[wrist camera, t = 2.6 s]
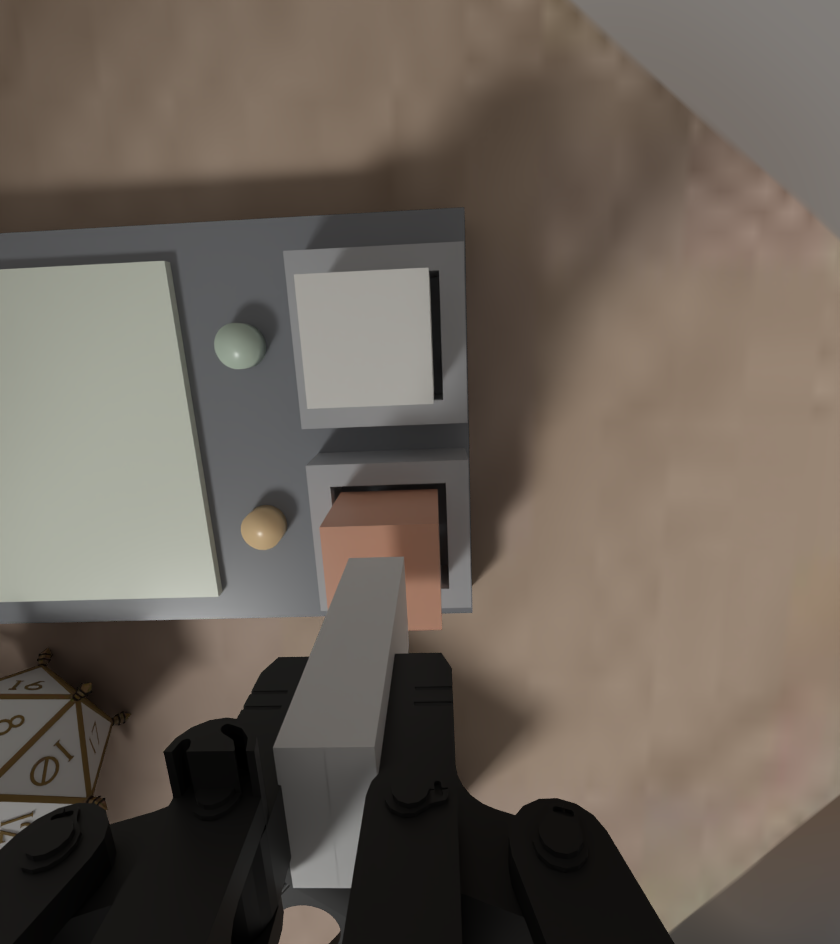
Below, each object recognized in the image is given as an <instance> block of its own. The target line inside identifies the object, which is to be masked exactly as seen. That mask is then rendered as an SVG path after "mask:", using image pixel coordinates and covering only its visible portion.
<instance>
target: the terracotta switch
mask: <svg viewBox="0 0 840 944" xmlns="http://www.w3.org/2000/svg"><path fill="white" fill-rule="evenodd" d="M319 529H320V539H321V549H322V559H323V568H324V578H325V588H326V598H327V608H328V609H329V607H330V604H331V602H332V599H333V597H334V594H335V592H336V589H337V587H338V584H339V582H340V579H341V577H342V574H343V572H344V569H345V567H346V564H347V562H348V559H349V558H370V557H404V566H405V584H406V601H407V619H408V631H410V630H442V605H441V565H440V538H439V511H438V489H419V490H389V491H359V492H341V493H340V494H339V496H338V498H337V499H336V501H335V502H334V504H333V506H332V507H331V509H330V511H329V512H328V514H327V516H326V517H325V519H324V520H323V522H322V524H321V525H320V527H319Z"/></svg>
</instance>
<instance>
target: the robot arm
mask: <svg viewBox="0 0 840 944" xmlns="http://www.w3.org/2000/svg"><path fill="white" fill-rule="evenodd" d="M408 650H409V636H408V619H407V601H406V584H405V566H404V557H370V558H349V559H348V562H347V564H346V567H345V569H344V572H343V574H342V577H341V579H340V582H339V584H338V587H337V589H336V592H335V594H334V597H333V599H332V602H331V604H330V607H329V609H328V612H327V614H326V617H325V619H324V622H323V624H322V627H321V629H320V632H319V634H318V637H317V639H316V642H315V644H314V646H313V649H312V651H311V654H310V656H309V657H278V658H277V659H276V660H275V661H274V662H273V663H272V664H270V665H269V666H268V667H267V668H266V669H265V670H264V671H263V672H261V674H260V676H259V678H258V680H257V682H256V684H255V685H254V687H253V689H252V694H250V695H249V697H248V699H247V701H246V703H245V704H244V709H243V710H241V712H240V714H239V716H238V718H237V719H233V718H222V719H215V720H209V721H207V722H204V723H202V724H199V725H197V726H194V727H192V728H190V729H189V730H187V731H186V732H184V733H183V734H181V735H180V736H178V737H177V738H176V739H175V740H174V741H173V742H172V743H171V744H170V745H169V746H168V747H167V749H166V750H165V751H164V756H165V761H166V765H167V770H168V775H169V779H170V784H171V789H172V793H173V799H172V801H171V803H170V805H169V806H168V807H165V808H163V809H160V810H157V811H155V812H152V813H148V814H145V815H141V816H138V817H134V818H131V819H127V820H124V821H120V822H117V823H113V824H109V821H108V817H107V814H106V810H105V809H103V808H101V807H100V806H98V805H96V804H95V803H76V804H72V805H68V806H64V807H61V808H58V809H56V810H54V811H52V812H50V813H48V814H46V815H44V816H42V817H40V818H38V819H36V820H35V821H33V822H32V823H31V824H30V825H28V826H27V827H26V828H24V829H23V830H22V831H20V832H19V833H18V834H16V835H15V836H14V837H13V838H12V839H11V840H10V841H9V842H8V843H7V844H5V845H4V846H3V847H2V848H1V849H0V944H278V943H279V939H280V935H281V932H282V925H283V914H284V911H283V904H282V898H281V893H282V889H283V886H284V882H285V879H286V875H287V871H288V868H289V864H290V870H291V877H292V884H293V888H351V890H350V896H349V903H348V909H347V915H346V921H345V928H344V934H343V940H342V944H674V942H673V941H672V939H671V937H670V935H669V934H668V932H667V930H666V929H665V927H664V925H663V924H662V922H661V920H660V919H659V917H658V915H657V914H656V912H655V910H654V909H653V907H652V905H651V904H650V902H649V900H648V899H647V897H646V895H645V894H644V892H643V890H642V889H641V887H640V885H639V884H638V882H637V880H636V879H635V877H634V875H633V874H632V872H631V870H630V869H629V867H628V865H627V864H626V862H625V860H624V859H623V857H622V855H621V854H620V852H619V850H618V849H617V847H616V845H615V844H614V842H613V840H612V839H611V837H610V835H609V834H608V832H607V831H606V830H605V828H604V827H603V826H602V825H601V824H600V822H599V821H598V820H597V819H596V818H595V816H594V815H592V814H591V813H589V812H588V811H586V810H585V809H583V808H582V807H580V806H579V805H577V804H575V803H571V802H568V801H565V800H561V799H558V798H552V799H538V800H536V801H533V802H531V803H529V804H527V805H524V806H523V807H522V808H521V809H520V811H519V812H518V813H517V814H516V815H513V814H509V813H506V812H503V811H500V810H497V809H494V808H492V807H489V806H487V805H485V804H482V803H481V802H480V801H478V800H477V799H475V798H474V797H473V796H471V795H470V794H469V792H468V791H467V790H466V789H465V788H464V787H463V785H462V783H461V781H460V780H459V778H458V776H457V771H456V765H455V742H454V717H453V691H452V668H451V666H450V665H449V663H448V662H447V661H446V659H445V658H444V656H443V655H442V653H408Z"/></svg>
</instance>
